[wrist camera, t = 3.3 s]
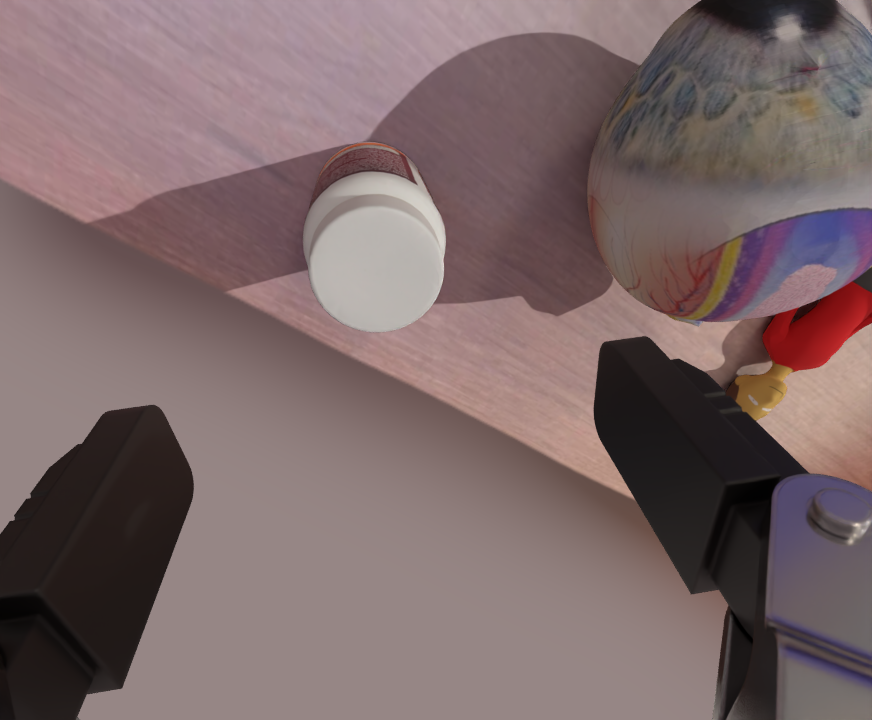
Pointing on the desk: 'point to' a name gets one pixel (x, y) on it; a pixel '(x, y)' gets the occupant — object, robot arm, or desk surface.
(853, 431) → the desk surface
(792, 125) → the anatomical model
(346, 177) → the pill bottle
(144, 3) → the desk surface
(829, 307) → the person figure
